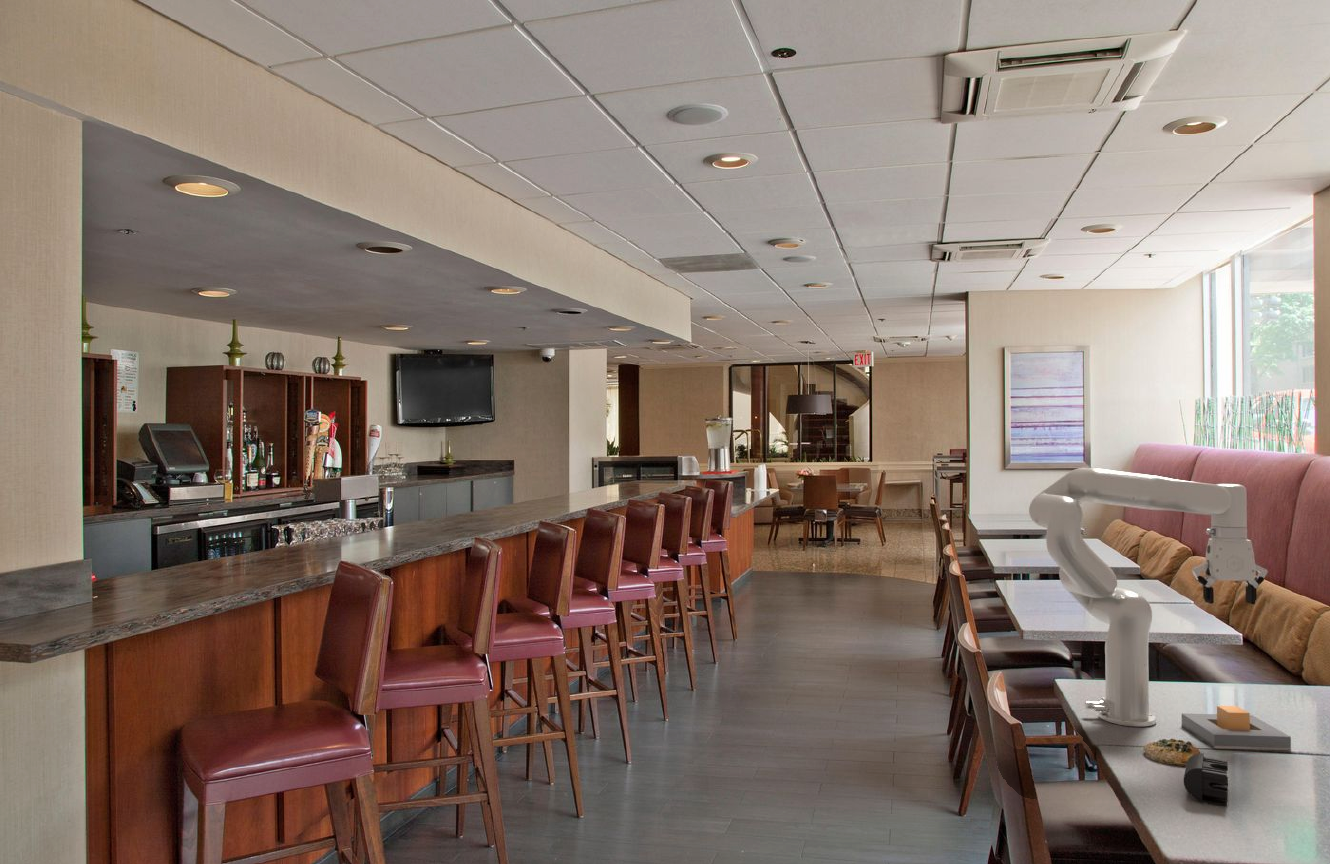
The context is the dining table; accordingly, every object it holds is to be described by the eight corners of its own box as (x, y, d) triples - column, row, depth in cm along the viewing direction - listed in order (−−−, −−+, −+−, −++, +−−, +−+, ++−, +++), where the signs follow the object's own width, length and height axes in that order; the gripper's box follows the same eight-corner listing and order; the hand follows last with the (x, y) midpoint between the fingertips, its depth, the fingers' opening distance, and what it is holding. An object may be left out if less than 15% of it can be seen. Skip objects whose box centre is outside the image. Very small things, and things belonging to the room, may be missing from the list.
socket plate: (1214, 748, 204) (1214, 734, 204) (1181, 726, 220) (1181, 713, 220) (1290, 750, 203) (1290, 736, 203) (1252, 728, 219) (1252, 715, 219)
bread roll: (1194, 751, 202) (1194, 730, 202) (1209, 776, 192) (1208, 753, 191) (1138, 749, 205) (1138, 727, 205) (1150, 773, 195) (1149, 750, 194)
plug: (1228, 739, 209) (1228, 712, 209) (1217, 731, 215) (1216, 705, 215) (1249, 739, 209) (1249, 713, 209) (1237, 732, 214) (1237, 706, 214)
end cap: (1186, 784, 183) (1186, 750, 183) (1228, 791, 179) (1227, 757, 180) (1183, 801, 175) (1183, 765, 175) (1227, 809, 171) (1226, 772, 171)
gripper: (1199, 535, 224) (1200, 605, 224) (1274, 535, 223) (1275, 606, 222) (1185, 532, 232) (1185, 600, 232) (1257, 532, 230) (1258, 601, 230)
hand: (1229, 603), depth 227 cm, fingers open, 9 cm apart
